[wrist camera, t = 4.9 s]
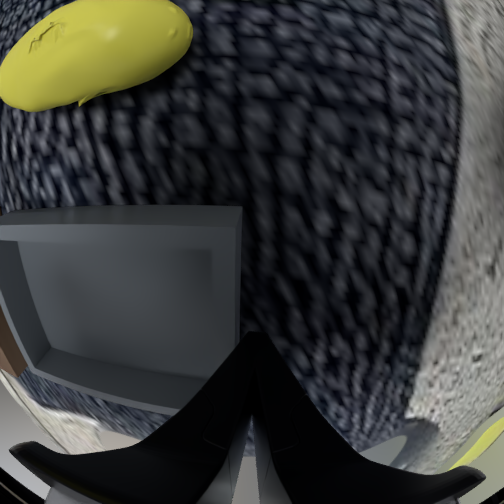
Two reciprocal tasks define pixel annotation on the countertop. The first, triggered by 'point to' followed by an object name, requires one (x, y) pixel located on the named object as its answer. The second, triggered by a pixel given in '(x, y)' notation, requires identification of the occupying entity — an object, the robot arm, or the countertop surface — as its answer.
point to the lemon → (93, 51)
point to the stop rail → (9, 348)
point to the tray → (124, 297)
